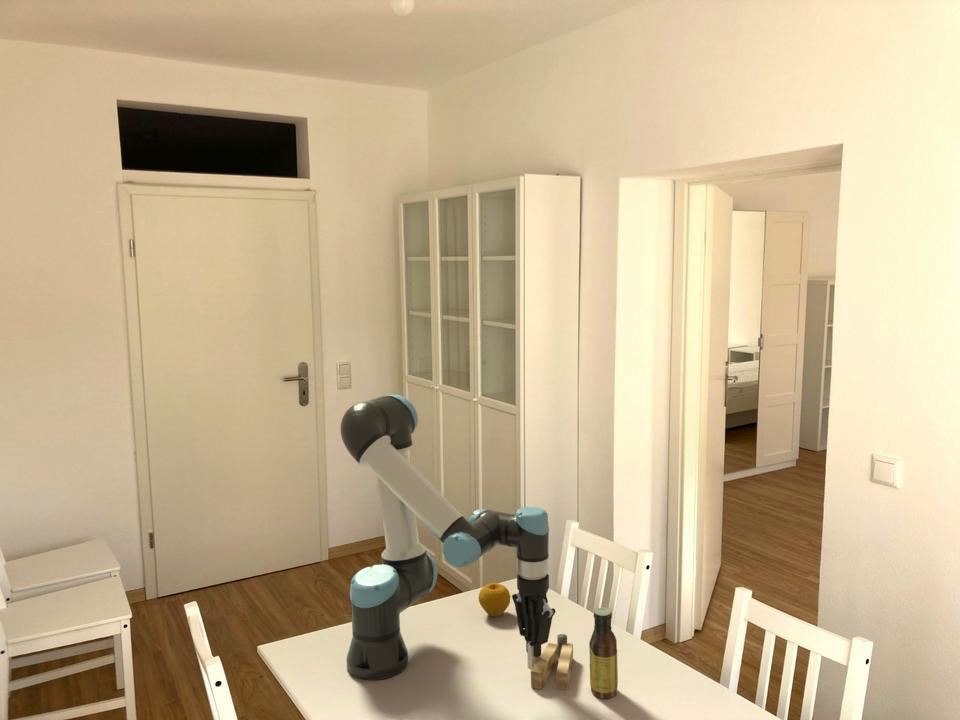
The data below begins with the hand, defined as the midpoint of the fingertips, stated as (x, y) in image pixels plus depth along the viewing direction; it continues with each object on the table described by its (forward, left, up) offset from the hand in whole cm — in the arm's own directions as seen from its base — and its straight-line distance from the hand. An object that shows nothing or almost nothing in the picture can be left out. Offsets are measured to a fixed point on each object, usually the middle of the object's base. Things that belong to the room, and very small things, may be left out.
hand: (533, 667), depth 186 cm
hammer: (+2, +7, -2) cm, 7 cm away
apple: (-32, +4, -2) cm, 33 cm away
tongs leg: (+1, +2, -1) cm, 3 cm away
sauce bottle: (+14, +11, -2) cm, 18 cm away
